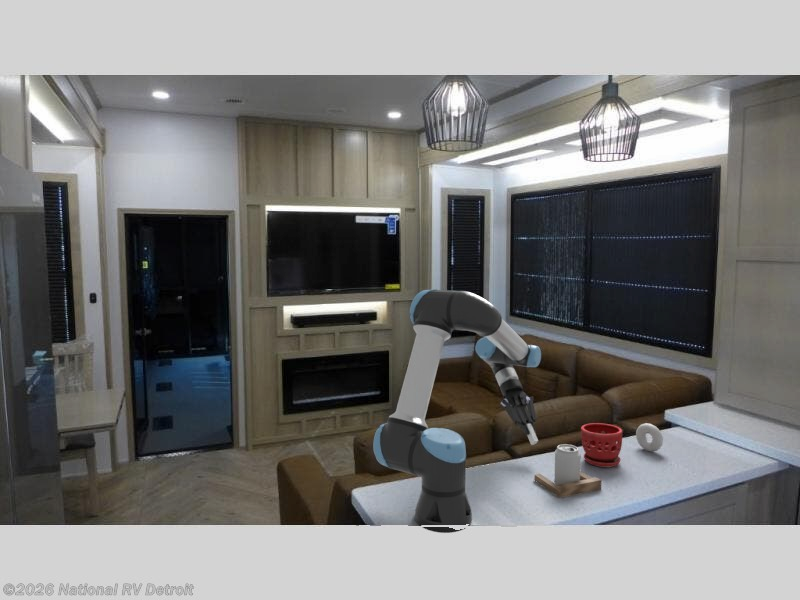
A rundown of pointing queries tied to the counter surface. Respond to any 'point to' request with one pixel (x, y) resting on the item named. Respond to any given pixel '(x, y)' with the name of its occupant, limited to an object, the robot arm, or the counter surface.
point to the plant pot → (601, 444)
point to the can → (567, 464)
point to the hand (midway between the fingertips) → (534, 442)
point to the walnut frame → (570, 485)
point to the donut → (653, 432)
